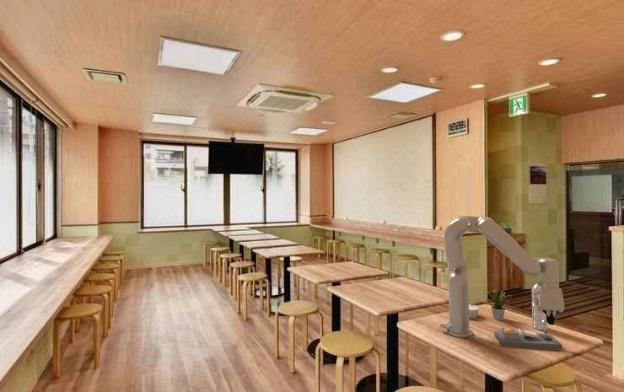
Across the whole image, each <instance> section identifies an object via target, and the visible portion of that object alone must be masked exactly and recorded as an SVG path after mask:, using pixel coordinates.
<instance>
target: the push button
mask: <svg viewBox="0 0 624 392" xmlns="http://www.w3.org/2000/svg"><path fill="white" fill-rule="evenodd" d="M504 328H505V329H504V332H511V333H514V330H513V329H510V328H511V327H504Z"/></svg>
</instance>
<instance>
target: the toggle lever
mask: <svg viewBox="0 0 624 392" xmlns="http://www.w3.org/2000/svg"><path fill="white" fill-rule="evenodd" d="M542 324H543V328H544V330H543V334H544V335H545V336H548V334H549V333H548V329H547V328H546V324H547V322H546V321H545V320H542Z"/></svg>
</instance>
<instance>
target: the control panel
mask: <svg viewBox="0 0 624 392" xmlns="http://www.w3.org/2000/svg"><path fill="white" fill-rule="evenodd" d="M505 328H506V327H499V331H497V330H495V331H493V336H494V338H495V339H496V340H497V342H498V343H499V344H500V346H501V347H506V348H520V349H521V348H522V349H523V348H524V349H538V350H551V351H552V350H553V351H556V350H557V351H562V350H563V344H562V343H561V342H559V340H557V339H556V338H555V337H554V336H553V335H552V334H550V333H548V336H545V335H544V333H537V332H535V333H536V334H537V335H538V337H537V338H535V337H531V336H526V335H521V334H520V333H519V332H518V330H516V329H515V328H514V327H513V328H512V327H509V328H510V329H513V330H514V333H511V332H504V329H505Z"/></svg>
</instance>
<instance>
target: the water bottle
mask: <svg viewBox="0 0 624 392" xmlns="http://www.w3.org/2000/svg"><path fill="white" fill-rule="evenodd" d="M537 282H539V280H536V283H537ZM536 283H535V284H534V285H533V286H532V287H531V300H532V301H531V315H532V316H531V318H532V321H531V322H532V324H531V325H532V328H534V330H538V331H544V328H543V324H542V320H545V321H546V314H545V313H544V312H540V311H538V310H537V307H538V306H537V291H538V287H540V286H539V285H537V284H536ZM546 328H547V330H548V328H549V324H548V323H547V324H546Z"/></svg>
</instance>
